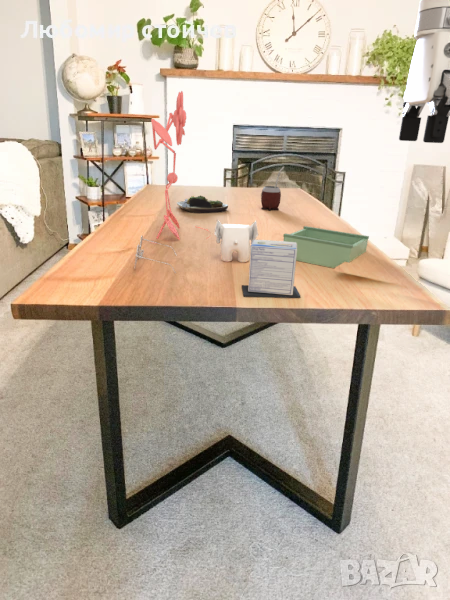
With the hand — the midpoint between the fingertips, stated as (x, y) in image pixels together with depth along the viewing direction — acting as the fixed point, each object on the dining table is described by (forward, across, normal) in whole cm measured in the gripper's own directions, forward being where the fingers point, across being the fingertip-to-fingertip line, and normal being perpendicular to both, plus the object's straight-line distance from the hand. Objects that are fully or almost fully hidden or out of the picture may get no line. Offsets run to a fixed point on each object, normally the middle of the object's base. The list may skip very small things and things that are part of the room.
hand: (419, 141), depth 76 cm
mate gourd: (+26, +82, +13) cm, 88 cm away
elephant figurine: (+26, +17, +30) cm, 43 cm away
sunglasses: (+26, +10, +47) cm, 55 cm away
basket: (+26, +18, +9) cm, 33 cm away
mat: (+26, -5, +25) cm, 36 cm away
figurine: (+26, +37, +42) cm, 62 cm away
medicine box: (+26, -5, +25) cm, 36 cm away
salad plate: (+26, +78, +38) cm, 91 cm away
